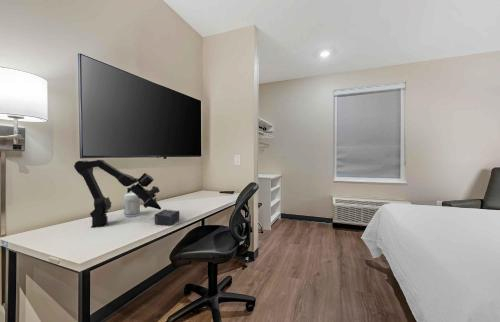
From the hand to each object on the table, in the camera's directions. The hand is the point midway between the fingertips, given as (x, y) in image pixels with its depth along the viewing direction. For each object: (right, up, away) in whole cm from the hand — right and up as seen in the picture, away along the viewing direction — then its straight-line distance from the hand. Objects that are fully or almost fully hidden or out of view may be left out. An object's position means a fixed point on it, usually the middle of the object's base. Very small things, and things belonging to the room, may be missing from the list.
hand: (160, 208), depth 128 cm
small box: (0, -4, -2) cm, 5 cm away
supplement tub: (-25, -8, +12) cm, 29 cm away
